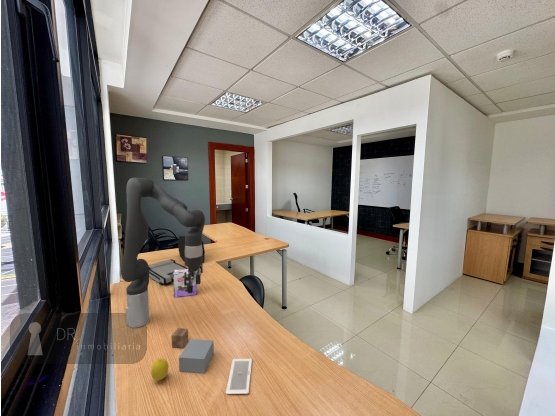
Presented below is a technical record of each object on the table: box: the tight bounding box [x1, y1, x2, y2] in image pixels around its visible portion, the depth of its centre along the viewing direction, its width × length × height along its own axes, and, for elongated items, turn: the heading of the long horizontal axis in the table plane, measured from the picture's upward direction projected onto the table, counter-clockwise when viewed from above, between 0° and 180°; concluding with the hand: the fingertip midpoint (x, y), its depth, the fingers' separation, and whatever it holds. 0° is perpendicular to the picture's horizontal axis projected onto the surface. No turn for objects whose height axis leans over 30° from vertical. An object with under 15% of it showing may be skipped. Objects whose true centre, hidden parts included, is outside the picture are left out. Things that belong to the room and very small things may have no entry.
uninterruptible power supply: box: [177, 235, 206, 264], centre depth 206 cm, size 16×34×20 cm, turn 35°
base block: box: [178, 338, 215, 374], centre depth 89 cm, size 10×10×6 cm
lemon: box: [150, 358, 169, 381], centre depth 81 cm, size 6×6×8 cm
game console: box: [148, 258, 188, 287], centre depth 168 cm, size 21×32×8 cm, turn 51°
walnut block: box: [171, 327, 189, 350], centre depth 99 cm, size 5×5×6 cm
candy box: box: [172, 269, 198, 299], centre depth 142 cm, size 14×6×16 cm, turn 105°
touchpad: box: [225, 358, 253, 395], centre depth 83 cm, size 8×15×2 cm, turn 2°
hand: (194, 288), depth 101 cm, fingers open, 8 cm apart
